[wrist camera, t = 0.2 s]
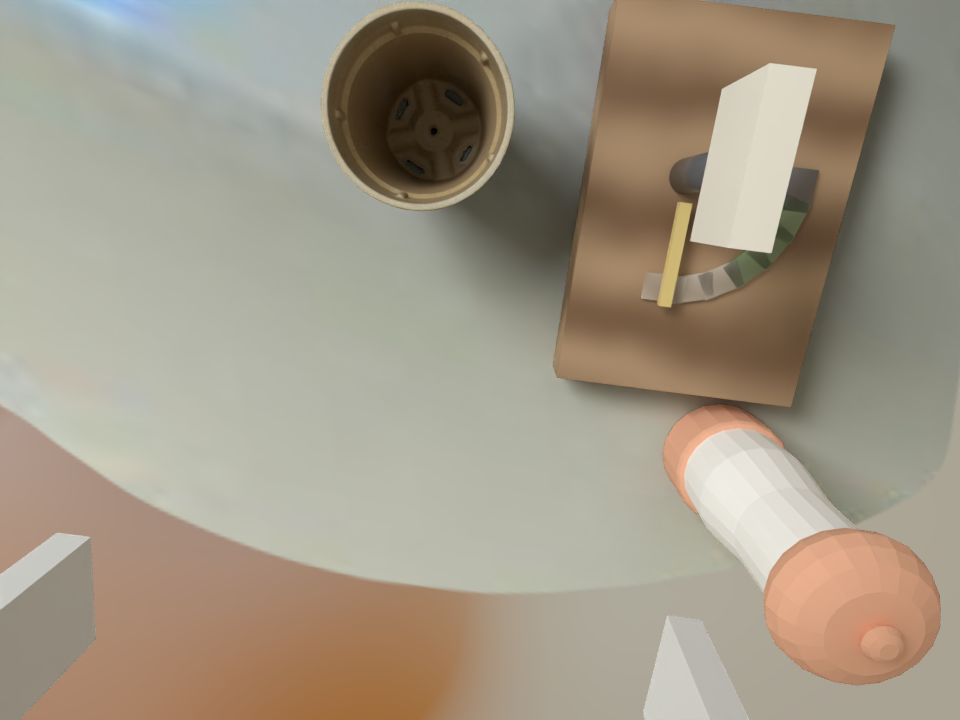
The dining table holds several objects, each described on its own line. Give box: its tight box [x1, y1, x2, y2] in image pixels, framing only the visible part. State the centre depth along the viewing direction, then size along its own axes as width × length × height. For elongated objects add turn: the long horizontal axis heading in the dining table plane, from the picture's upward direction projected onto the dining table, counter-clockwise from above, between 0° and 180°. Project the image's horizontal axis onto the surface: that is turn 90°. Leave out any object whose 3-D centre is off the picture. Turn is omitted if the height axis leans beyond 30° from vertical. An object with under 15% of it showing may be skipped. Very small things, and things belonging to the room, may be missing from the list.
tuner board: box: [553, 0, 895, 407], centre depth 36 cm, size 22×15×3 cm
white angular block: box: [657, 63, 817, 307], centre depth 29 cm, size 11×2×11 cm, turn 173°
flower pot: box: [321, 1, 515, 211], centre depth 32 cm, size 9×9×9 cm
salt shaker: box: [663, 404, 940, 685], centre depth 32 cm, size 7×7×19 cm
